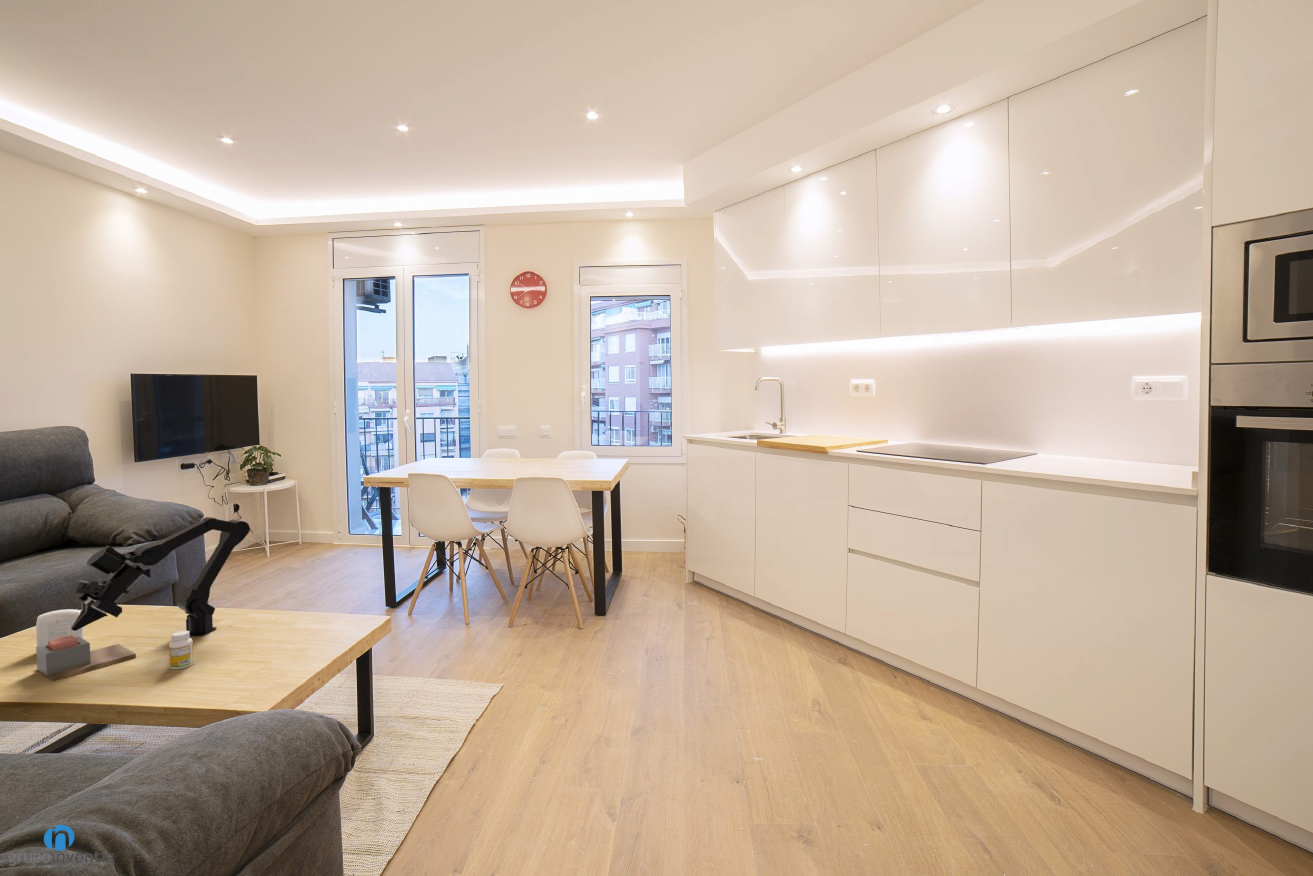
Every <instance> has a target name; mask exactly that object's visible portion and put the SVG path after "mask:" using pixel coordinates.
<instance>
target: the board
mask: <svg viewBox="0 0 1313 876" xmlns="http://www.w3.org/2000/svg"><path fill="white" fill-rule="evenodd" d="M136 658H137V652H136V653H135V652H134V651H132V650H130V649H129V648H127V647H125V646H123V645H122V644H120V643H117V644H112V645H108V646H105V647H101V648H96V649H94V650H90V661H91V663H90V664H86V665H83V666H79V667H75V668H72V669H68V670H64V671H61V672H57V673H53V674H50V675H46V674H45V673H43V672H42V671H41V670H39V669H38V668H37V667H36V670H38V672H40V673H42V674H43V675H44V676H45V677H46V678H47V679H49V680H50V681H52V682H55V681H57V680H62V679H65V678H68V677H71V676H75V675H78V674H82V673H86V672H90V671H93V670H96V669H100V668H103V667H107V666H111V665H114V664H118V663H122V662H125V661H128V660H129V661H130V660H132V659H136Z"/></svg>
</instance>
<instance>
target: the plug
mask: <svg viewBox="0 0 1313 876" xmlns="http://www.w3.org/2000/svg"><path fill="white" fill-rule="evenodd" d="M77 644H78V639H77V638H75V637H74V636H72V635H71V636H67V637H63V638H59V639H55V640H51V641H48V649H50V650H51V651H54V650H58V649H62V648H65V647H69V646H73V645H77Z"/></svg>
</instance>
